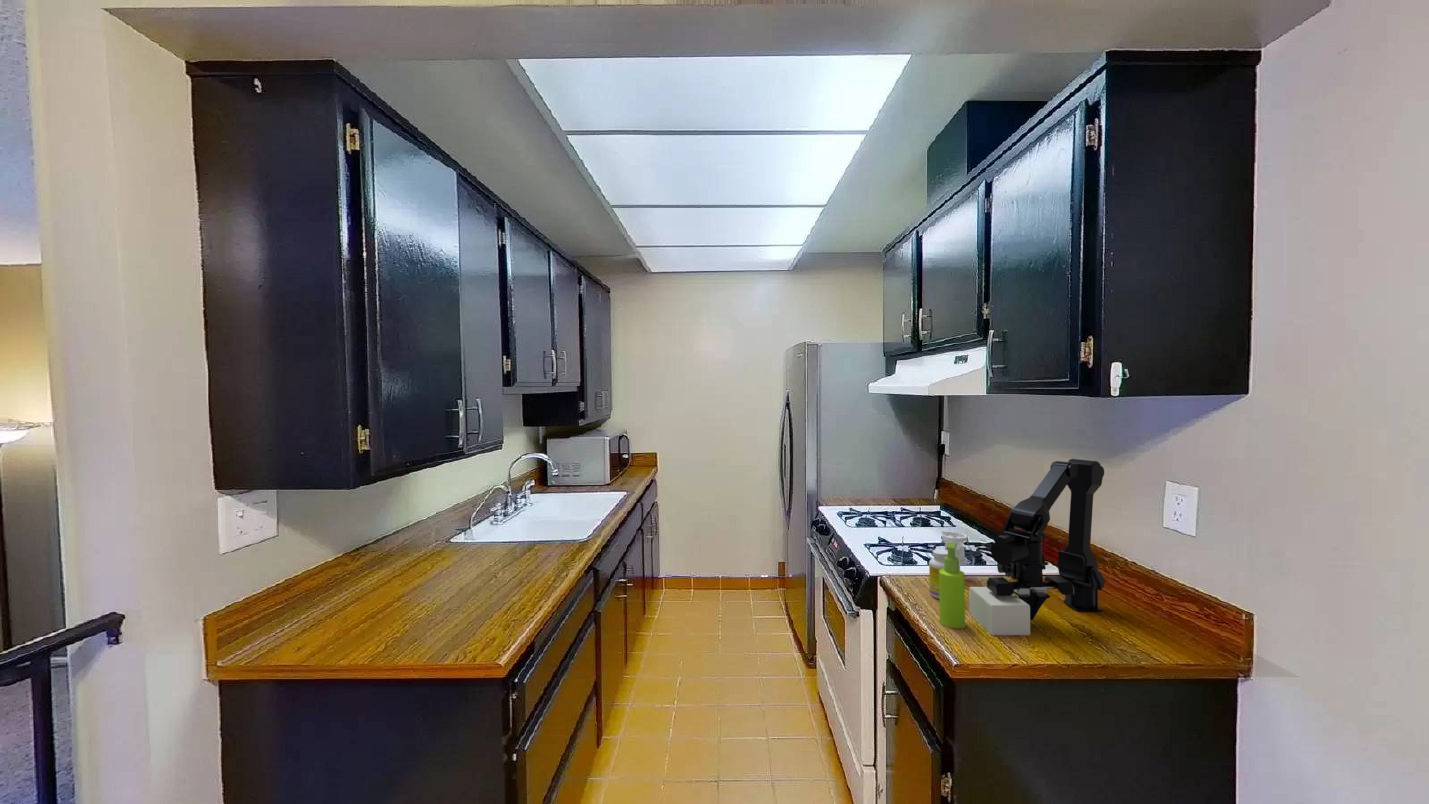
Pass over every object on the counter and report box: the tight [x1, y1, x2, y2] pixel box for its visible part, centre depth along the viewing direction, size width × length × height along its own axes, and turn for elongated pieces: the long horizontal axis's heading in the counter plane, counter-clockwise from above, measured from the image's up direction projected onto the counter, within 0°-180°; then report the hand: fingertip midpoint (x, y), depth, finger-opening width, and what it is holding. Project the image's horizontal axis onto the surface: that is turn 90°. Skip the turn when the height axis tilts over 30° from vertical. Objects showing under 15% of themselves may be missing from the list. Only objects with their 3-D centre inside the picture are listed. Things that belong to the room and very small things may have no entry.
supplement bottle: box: [928, 548, 948, 600], centre depth 149 cm, size 7×7×13 cm
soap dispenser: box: [938, 542, 966, 629], centre depth 132 cm, size 6×7×20 cm
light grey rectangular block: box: [968, 586, 1031, 636], centre depth 131 cm, size 9×12×7 cm
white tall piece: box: [941, 529, 968, 571], centre depth 162 cm, size 7×7×15 cm
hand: (1030, 619), depth 131 cm, fingers closed
